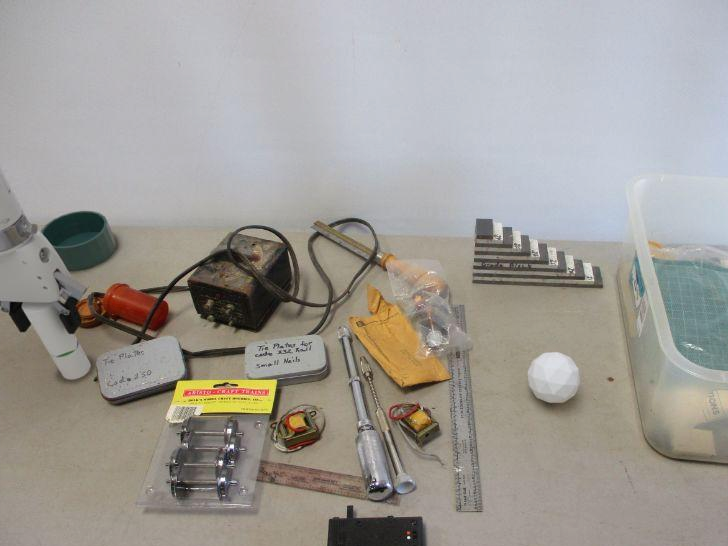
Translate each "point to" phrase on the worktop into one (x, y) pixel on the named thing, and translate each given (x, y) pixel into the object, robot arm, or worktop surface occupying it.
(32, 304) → the tube
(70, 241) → the bowl
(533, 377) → the ball
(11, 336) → the worktop surface
